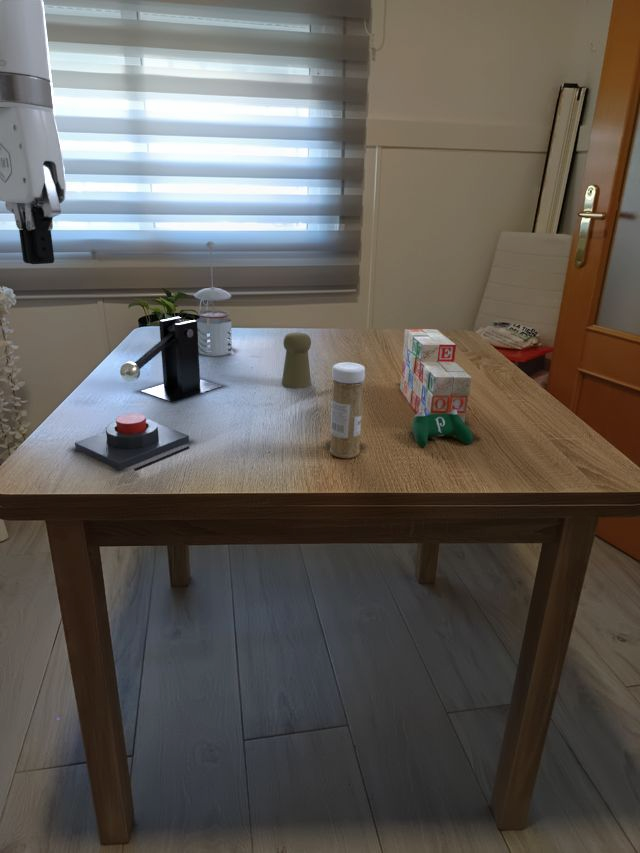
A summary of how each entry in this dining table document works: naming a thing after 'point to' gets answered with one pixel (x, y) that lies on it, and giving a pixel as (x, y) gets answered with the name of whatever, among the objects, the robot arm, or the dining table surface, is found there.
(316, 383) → the dining table surface
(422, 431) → the gaming controller
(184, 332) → the switch bracket
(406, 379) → the stack of blocks
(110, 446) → the button block
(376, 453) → the dining table surface
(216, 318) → the french press
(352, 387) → the sprinkles bottle
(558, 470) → the dining table surface
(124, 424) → the button
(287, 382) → the cork
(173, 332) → the switch lever
